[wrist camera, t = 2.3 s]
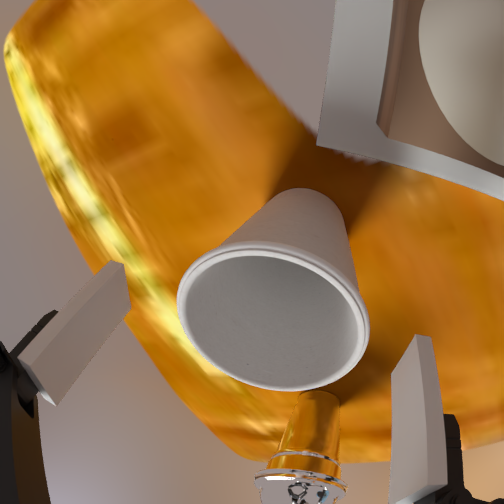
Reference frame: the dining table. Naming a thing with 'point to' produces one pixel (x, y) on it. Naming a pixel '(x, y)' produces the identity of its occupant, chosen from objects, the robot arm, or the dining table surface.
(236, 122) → the dining table surface
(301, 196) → the dixie cup
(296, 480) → the cup with straw
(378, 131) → the board
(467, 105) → the brown block
